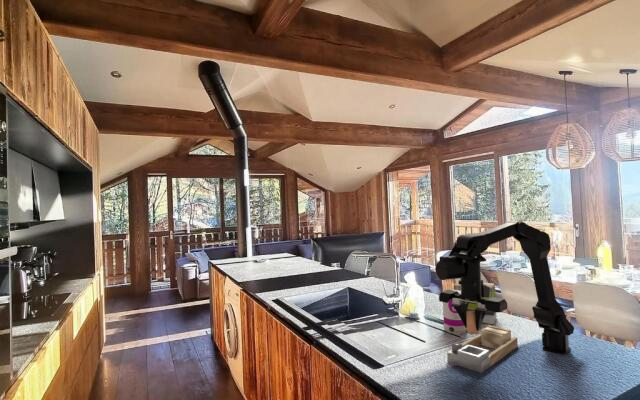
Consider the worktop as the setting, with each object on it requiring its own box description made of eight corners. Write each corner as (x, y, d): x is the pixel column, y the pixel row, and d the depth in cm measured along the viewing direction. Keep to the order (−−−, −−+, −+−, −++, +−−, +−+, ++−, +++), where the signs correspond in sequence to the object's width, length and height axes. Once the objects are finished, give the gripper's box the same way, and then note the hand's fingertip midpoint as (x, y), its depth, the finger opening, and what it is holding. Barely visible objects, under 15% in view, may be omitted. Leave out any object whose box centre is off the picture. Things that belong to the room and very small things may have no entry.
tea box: (497, 318, 153) (495, 282, 153) (493, 325, 144) (492, 287, 144) (459, 313, 161) (458, 279, 161) (454, 319, 152) (453, 284, 152)
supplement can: (468, 335, 134) (467, 294, 134) (445, 334, 136) (443, 294, 136) (464, 327, 142) (463, 289, 142) (442, 327, 144) (441, 288, 144)
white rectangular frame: (491, 366, 109) (490, 349, 109) (481, 373, 104) (480, 355, 104) (457, 355, 117) (457, 340, 117) (447, 362, 112) (446, 345, 112)
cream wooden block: (511, 345, 123) (510, 329, 123) (503, 351, 119) (502, 334, 119) (490, 339, 129) (489, 324, 129) (481, 345, 124) (480, 329, 124)
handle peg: (475, 334, 107) (474, 314, 107) (464, 332, 110) (464, 312, 110) (480, 332, 109) (479, 312, 109) (470, 329, 112) (469, 310, 112)
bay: (517, 346, 122) (517, 337, 122) (490, 366, 108) (490, 356, 109) (486, 338, 130) (485, 330, 130) (457, 356, 116) (456, 346, 116)
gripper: (513, 276, 108) (515, 329, 108) (454, 269, 122) (456, 316, 122) (498, 282, 101) (500, 339, 100) (437, 274, 115) (438, 324, 114)
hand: (472, 328), depth 110 cm, fingers closed on handle peg, 3 cm apart
